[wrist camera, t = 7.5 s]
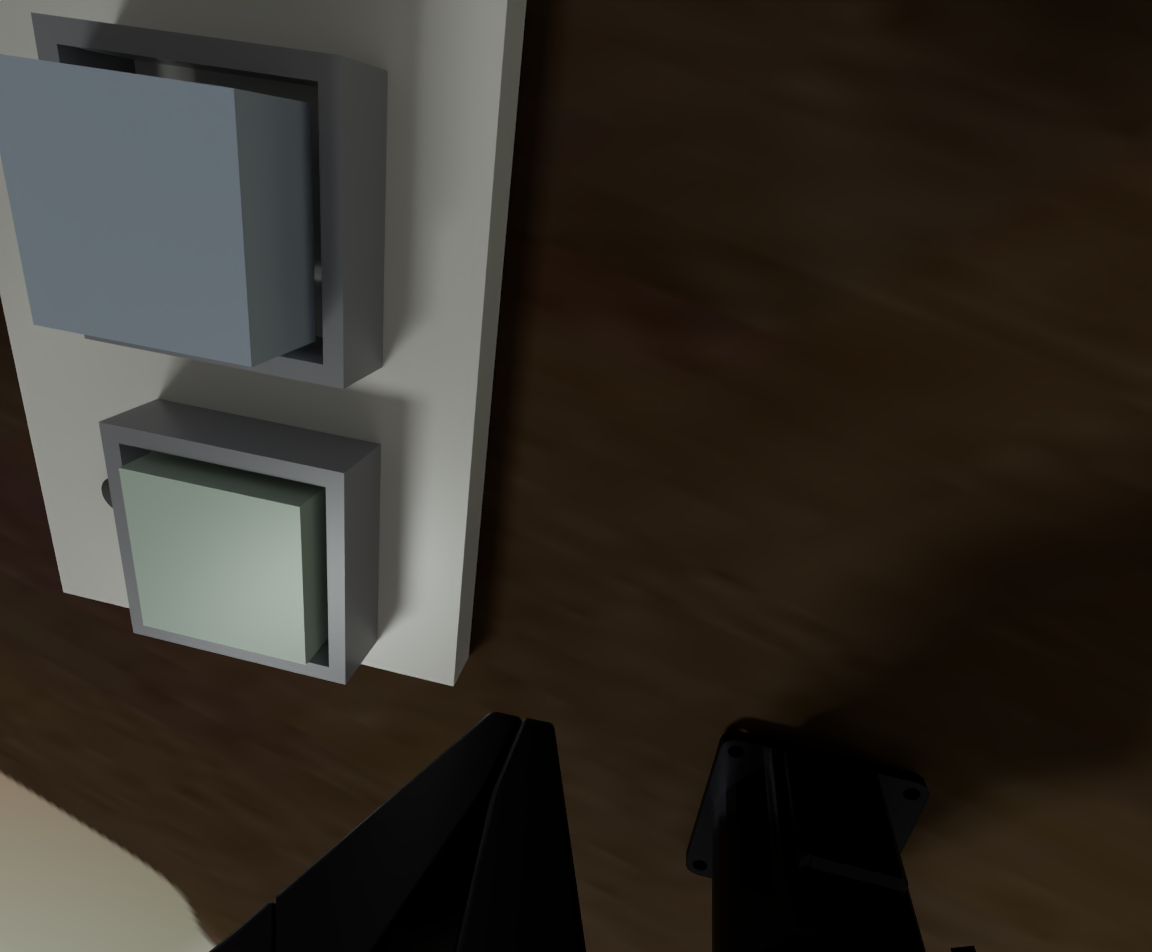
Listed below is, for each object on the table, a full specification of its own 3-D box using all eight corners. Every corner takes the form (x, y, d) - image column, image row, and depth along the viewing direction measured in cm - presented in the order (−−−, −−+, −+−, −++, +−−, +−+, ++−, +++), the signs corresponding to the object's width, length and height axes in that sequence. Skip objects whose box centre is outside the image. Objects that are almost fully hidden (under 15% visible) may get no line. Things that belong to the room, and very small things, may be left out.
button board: (468, 657, 23) (428, 734, 20) (99, 569, 25) (6, 628, 22) (575, -554, 12) (525, -827, 9) (-112, -577, 14) (-371, -815, 10)
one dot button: (348, 613, 21) (305, 664, 19) (202, 579, 22) (143, 625, 20) (348, 468, 19) (299, 506, 17) (186, 434, 20) (118, 467, 18)
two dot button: (315, 341, 16) (251, 367, 14) (125, 305, 17) (34, 324, 14) (310, 103, 14) (233, 88, 12) (93, 71, 15) (-20, 51, 12)
